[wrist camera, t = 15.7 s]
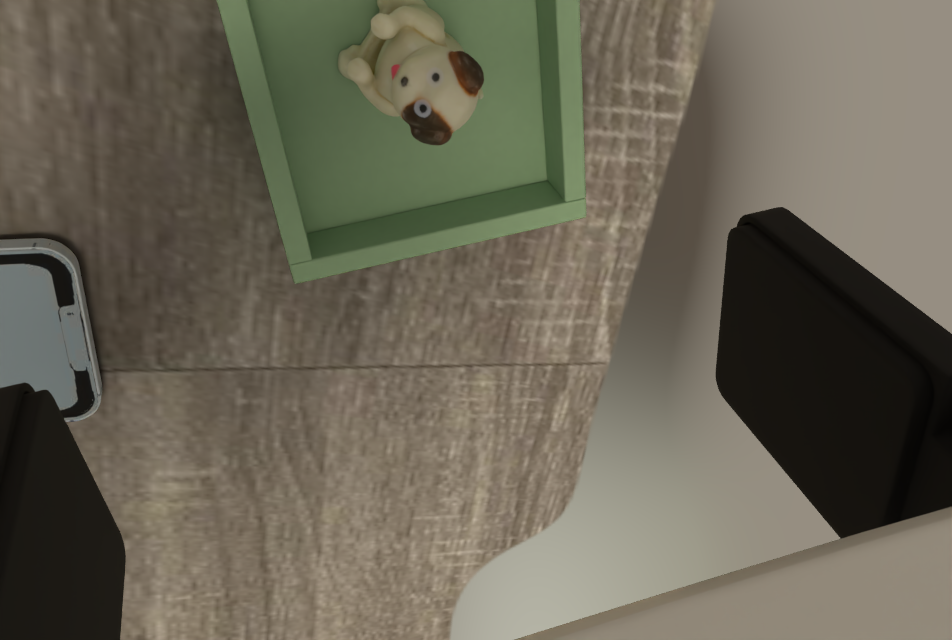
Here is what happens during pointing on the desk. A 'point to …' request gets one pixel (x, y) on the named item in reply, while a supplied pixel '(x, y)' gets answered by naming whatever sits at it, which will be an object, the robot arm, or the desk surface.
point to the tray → (409, 132)
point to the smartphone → (47, 325)
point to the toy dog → (415, 70)
